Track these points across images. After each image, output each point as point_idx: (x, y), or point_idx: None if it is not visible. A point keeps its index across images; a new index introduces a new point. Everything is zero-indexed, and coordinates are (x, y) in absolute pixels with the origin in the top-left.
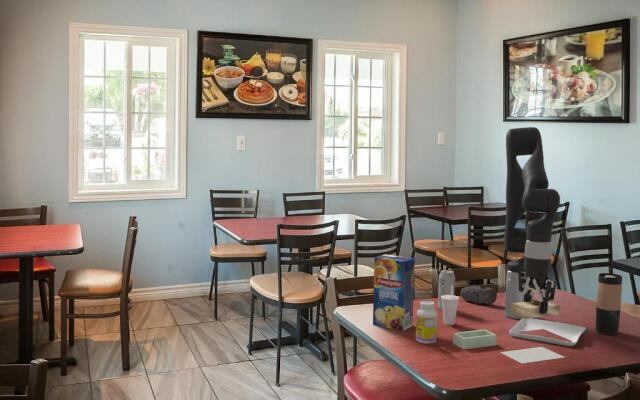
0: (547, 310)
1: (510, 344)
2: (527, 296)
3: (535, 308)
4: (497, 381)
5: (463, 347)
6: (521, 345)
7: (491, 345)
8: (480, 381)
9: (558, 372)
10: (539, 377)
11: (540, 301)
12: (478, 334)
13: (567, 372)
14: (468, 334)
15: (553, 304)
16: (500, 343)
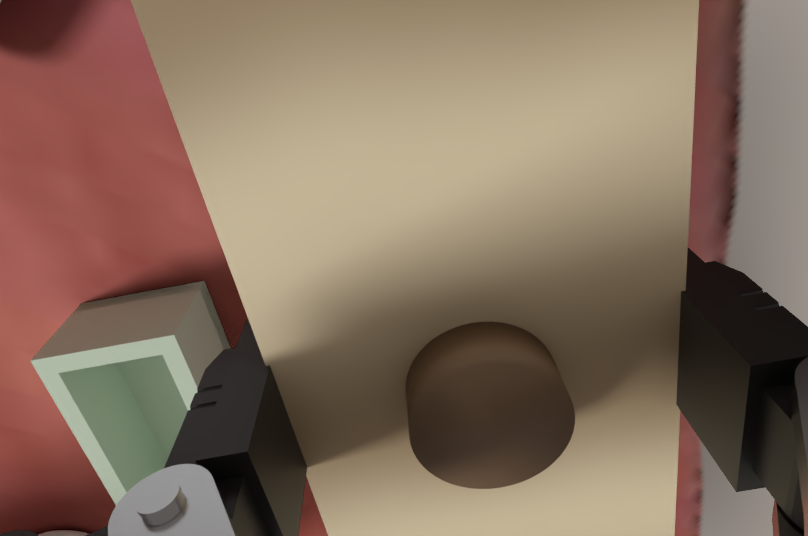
0: (745, 276)
1: (95, 135)
2: (284, 520)
3: (669, 459)
4: (678, 457)
5: None
6: (114, 56)
7: (209, 326)
8: None
9: (701, 87)
10: (719, 251)
11: (749, 486)
12: (93, 396)
13: (726, 19)
14: (125, 465)
15: (603, 26)
16: (78, 199)
